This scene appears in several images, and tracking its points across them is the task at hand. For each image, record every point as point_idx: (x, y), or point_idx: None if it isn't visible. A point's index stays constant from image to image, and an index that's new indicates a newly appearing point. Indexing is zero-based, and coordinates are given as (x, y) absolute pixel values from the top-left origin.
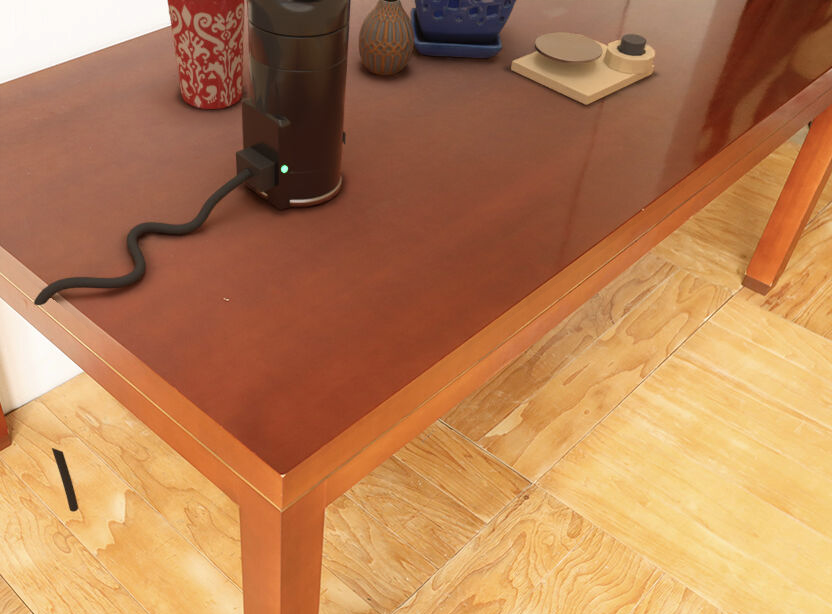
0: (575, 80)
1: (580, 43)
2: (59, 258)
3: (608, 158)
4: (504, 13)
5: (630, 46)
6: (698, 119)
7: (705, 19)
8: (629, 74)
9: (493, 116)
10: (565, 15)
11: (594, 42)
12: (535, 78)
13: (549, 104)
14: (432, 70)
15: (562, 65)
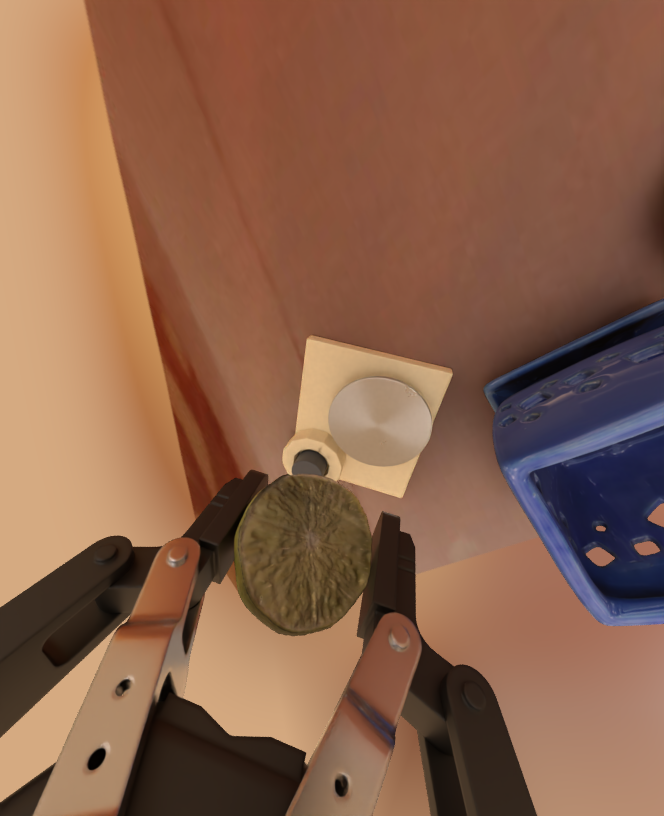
0: (343, 372)
1: (367, 441)
2: None
3: (210, 201)
4: (504, 411)
5: (304, 458)
6: (207, 387)
7: None
8: (299, 428)
9: (408, 184)
10: (446, 547)
11: (353, 454)
12: (402, 358)
13: (351, 301)
14: (594, 274)
15: None
